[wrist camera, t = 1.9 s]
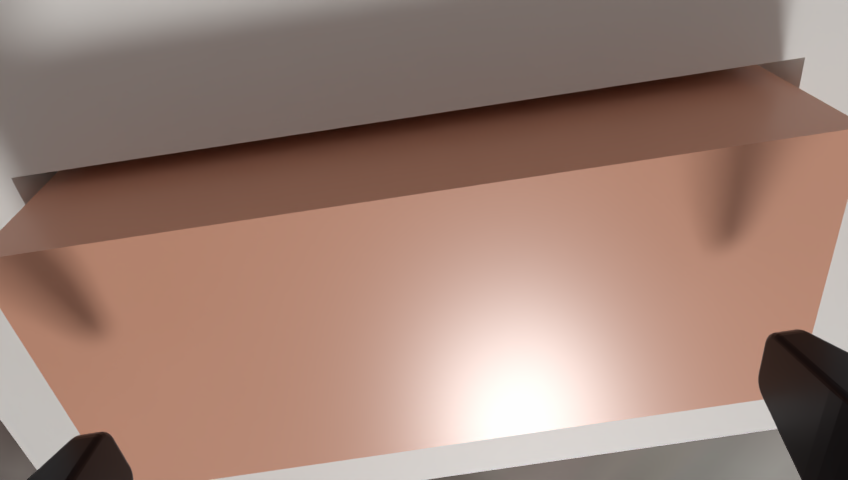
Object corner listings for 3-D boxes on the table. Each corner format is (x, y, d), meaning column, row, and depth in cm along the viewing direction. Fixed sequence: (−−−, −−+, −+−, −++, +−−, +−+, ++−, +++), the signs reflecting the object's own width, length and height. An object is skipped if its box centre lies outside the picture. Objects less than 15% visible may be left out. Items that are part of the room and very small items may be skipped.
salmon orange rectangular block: (177, 341, 14) (116, 493, 11) (86, 142, 12) (-30, 260, 8) (695, 265, 14) (796, 394, 11) (722, 45, 12) (866, 127, 8)
